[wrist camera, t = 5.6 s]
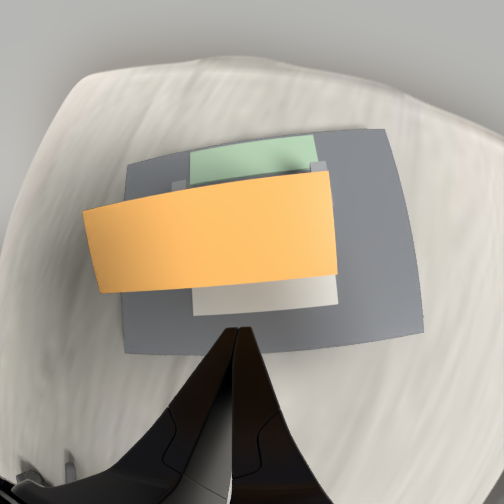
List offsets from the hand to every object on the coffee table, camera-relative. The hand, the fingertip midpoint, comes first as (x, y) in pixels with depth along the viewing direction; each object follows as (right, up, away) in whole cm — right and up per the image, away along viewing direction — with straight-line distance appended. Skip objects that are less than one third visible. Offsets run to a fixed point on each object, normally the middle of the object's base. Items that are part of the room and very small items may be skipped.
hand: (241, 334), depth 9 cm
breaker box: (+1, +3, +9) cm, 10 cm away
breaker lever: (0, +5, +6) cm, 8 cm away
